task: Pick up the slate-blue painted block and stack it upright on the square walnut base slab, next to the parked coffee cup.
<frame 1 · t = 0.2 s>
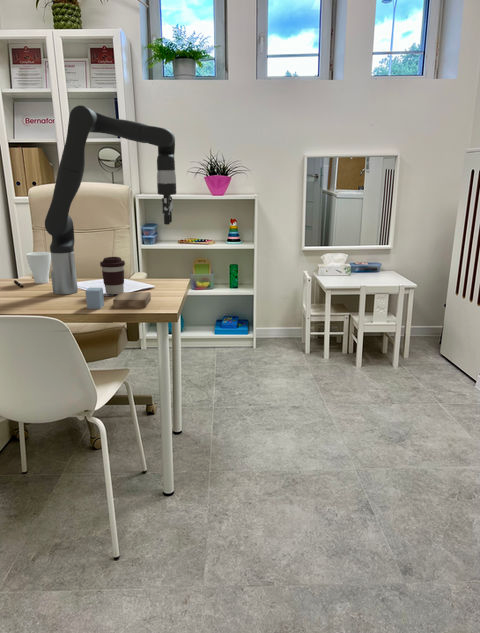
hand: (168, 223, 196), 29 cm above the table, fingers open, 8 cm apart
block: (95, 307, 181), on the table
coffee cup: (114, 293, 202), on the table
base: (132, 303, 186), on the table
cup: (42, 282, 223), on the table
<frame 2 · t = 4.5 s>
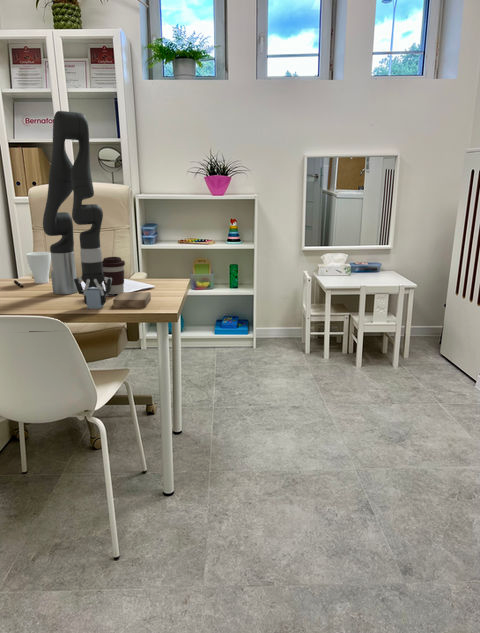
hand: (95, 304, 181), 1 cm above the table, fingers closed on block, 5 cm apart
block: (95, 306, 181), on the table, touching gripper
everything else where it was.
when the fingers open (5 cm above the table, at t = 9.9 s): block stays where it is, resting on base.
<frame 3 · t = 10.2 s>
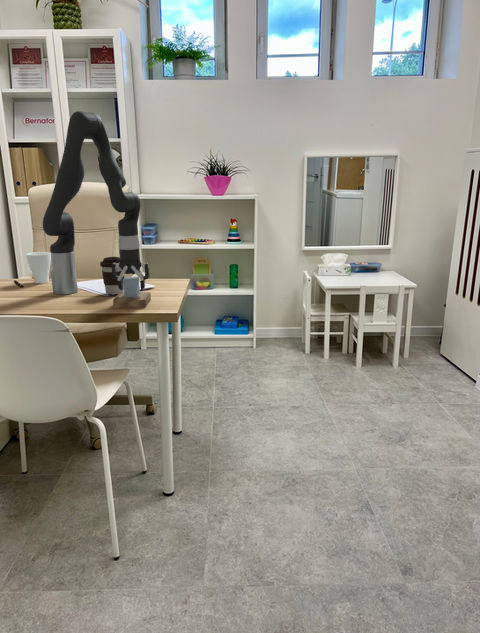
hand: (131, 289, 185), 5 cm above the table, fingers open, 7 cm apart
block: (132, 295, 185), point 3 cm above the table, touching base
everything else where it was.
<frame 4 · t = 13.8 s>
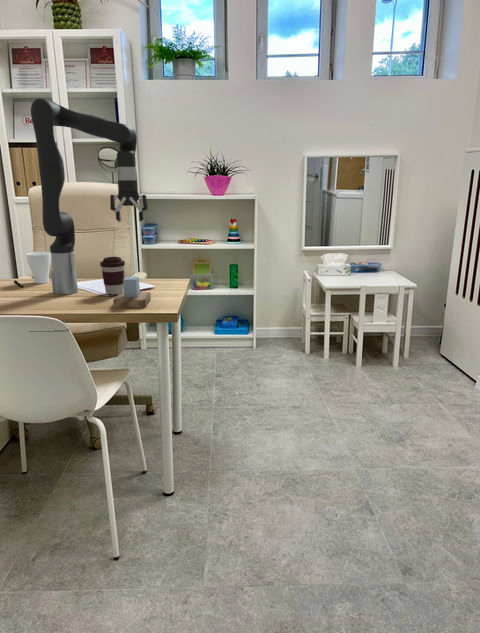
hand: (130, 221, 191), 30 cm above the table, fingers open, 8 cm apart
nothing on the table moved.
at the end: block inside the target area on the base (0.1 cm from its centre), point 3.0 cm above the base's base; block tilted 0°; the gripper is holding nothing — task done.
